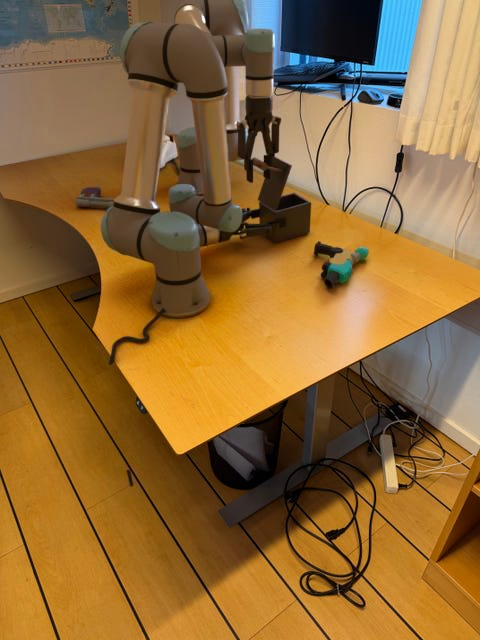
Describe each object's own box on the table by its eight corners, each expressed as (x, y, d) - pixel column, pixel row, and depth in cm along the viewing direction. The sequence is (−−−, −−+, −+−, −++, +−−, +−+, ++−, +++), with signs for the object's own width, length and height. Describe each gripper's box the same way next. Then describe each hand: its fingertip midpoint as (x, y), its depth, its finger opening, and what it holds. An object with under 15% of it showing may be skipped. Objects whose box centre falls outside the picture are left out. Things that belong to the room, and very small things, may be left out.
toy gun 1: (132, 197, 185) (117, 212, 173) (88, 194, 188) (70, 209, 177) (131, 187, 183) (115, 202, 171) (86, 184, 186) (67, 199, 174)
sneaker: (133, 173, 208) (129, 144, 201) (161, 153, 230) (158, 127, 223) (155, 175, 205) (151, 146, 198) (180, 155, 227) (178, 129, 220)
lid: (274, 156, 147) (250, 150, 142) (292, 165, 140) (267, 159, 135) (260, 200, 153) (236, 195, 148) (276, 210, 146) (252, 206, 141)
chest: (293, 221, 164) (294, 192, 158) (309, 232, 157) (311, 202, 151) (259, 231, 160) (259, 201, 153) (274, 243, 153) (274, 212, 146)
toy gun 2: (291, 269, 129) (345, 283, 123) (323, 233, 148) (371, 243, 142) (290, 283, 132) (343, 297, 126) (322, 246, 150) (369, 256, 145)
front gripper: (200, 228, 155) (259, 214, 164) (232, 257, 139) (295, 240, 148) (198, 207, 151) (259, 193, 159) (231, 233, 135) (297, 217, 143)
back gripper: (280, 89, 135) (277, 170, 149) (223, 96, 128) (225, 181, 142) (294, 94, 130) (290, 178, 144) (236, 102, 123) (237, 189, 137)
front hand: (276, 216), depth 153 cm, fingers closed on chest, 10 cm apart
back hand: (258, 179), depth 143 cm, fingers open, 5 cm apart
